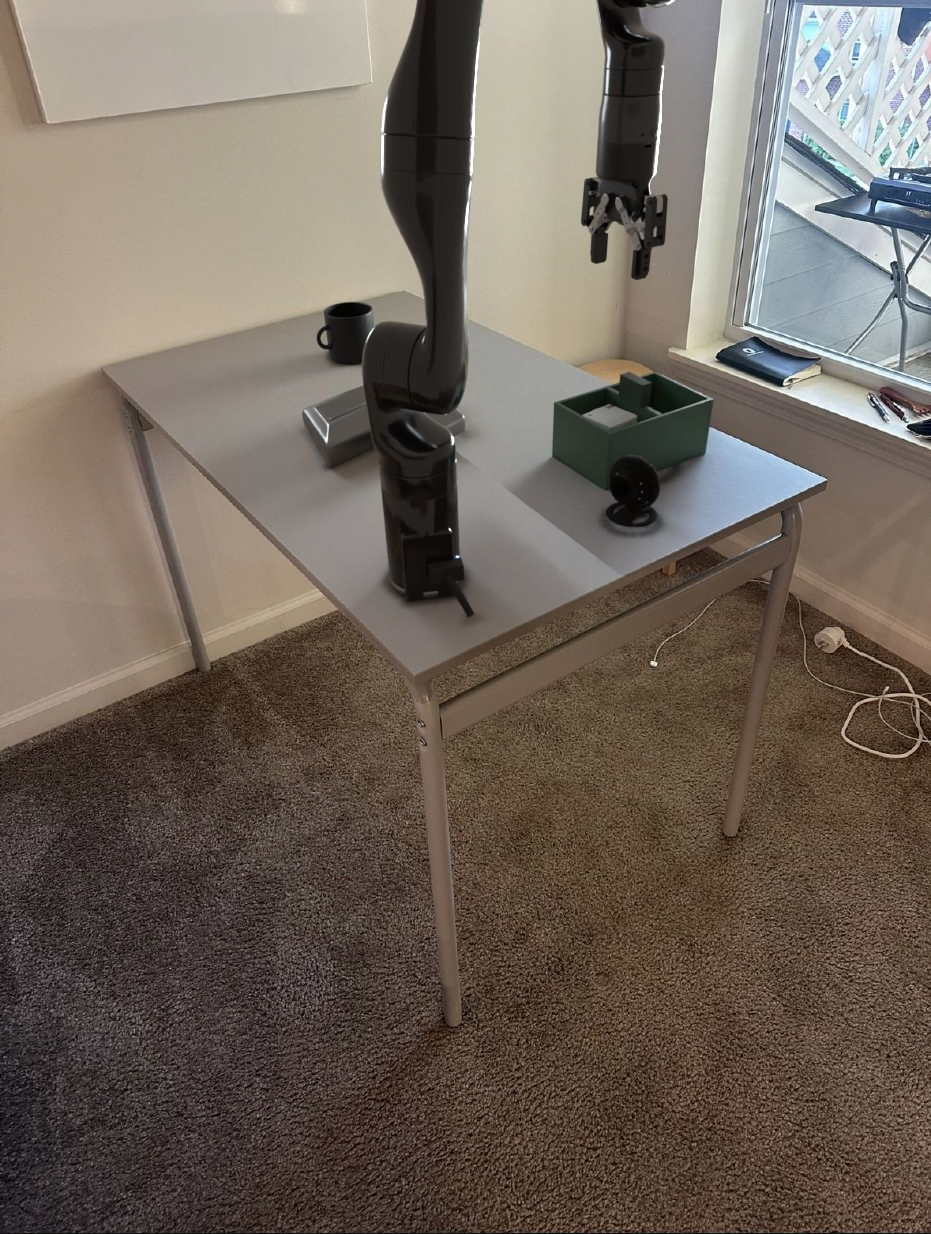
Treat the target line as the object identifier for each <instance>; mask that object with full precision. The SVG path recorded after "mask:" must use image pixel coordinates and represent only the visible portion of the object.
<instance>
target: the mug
mask: <svg viewBox="0 0 931 1234" xmlns="http://www.w3.org/2000/svg"><path fill="white" fill-rule="evenodd" d="M323 316H324V324H325V325H323V326H322V327H321V328H319V329H318V331H317V333H316V343H317V345H318V346H319V347H320V349H322V350H326V351H328V356H329V358H330V359H331V360H332V361H333V362H336V363H340V364H348V365H349V364H350V365H351V364H359V363H362V357H363V350H364V346H365V342H366V339H367V337H368V335H369V333H370V331H371V330H372V328H373V327H374V326H375V321H374V320H375V318H374V308H373V306H372V305H370V304H369V303H365V302H361V301H345V302H339V303H338V302H337V303H334V304H331V305H329V306H327V307H326V308H325V309H324V310H323ZM324 332H325V333H326V334H325V335H326V341H327V344H324V343H323V342H322V335H323V333H324Z"/></svg>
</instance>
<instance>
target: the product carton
mask: <svg viewBox="0 0 931 1234" xmlns="http://www.w3.org/2000/svg"><path fill="white" fill-rule="evenodd" d="M582 416H583V417H585V418H587V419H589V420H590V421H592V422H594V423H596V424H598V425H599V426H601V427H603V428H605V429H606V430H608V431H610V432H611V431H614V430H617V429H620V428H623V427H626V426H629V425H632V424H635V423H637V415H635V414H633V413H630V412H628V411H625V410H623V409H620V408H618V407H615V406H613V405H611V404H608V405H606V406H603V407H601V408H597V409H594V410H592V411H591V412H588V413H586V414H583V415H582Z"/></svg>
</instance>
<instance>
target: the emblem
mask: <svg viewBox="0 0 931 1234" xmlns="http://www.w3.org/2000/svg"><path fill="white" fill-rule="evenodd" d="M301 414H302V422H303V425H304V427H305V429H306V431H307V433H308V434H309V435H310V438H311V439H312V441H313V442H314V444H315V446H316V447H317V449H318V451H319V453H320V454H321V456H322V458H323V460H324V461H325V463H326V464H327V466H328V467H329V468H333V467H336V466H337V465H340V464H341V463H342V464H343V463H345V462H346V461H348V460H350V459H352V458H353V459H354V458H355V457H357V456H359V455H361V454H363V453H366V452H368V451H370V450H372V449H375V448H374V445H373V442H372V438H371V432H370V424H369V418H368V412H367V406H366V400H365V394H364V386H363V385H361V386H359V387H355V388H352V389H349V390H347V391H343V392H342V393H339V394H336V395H333V396H331V397H329V398H326V399H324V400H322V401H319V402H317V403H314V404H312V405H309V406H307V407H305V408H303V409H302V412H301ZM426 414H427V415H428V416H429V417H430V418H432V419H433V420H435V421H436V422H438V423H439V424H441V425H443V426H444V427H446V428H447V429H448V430H449V431H450V432H451V433H452V435H453V436H456V435H458V434H461V433H463V432H465V431H466V418H465V415H464V414H463V413H462V411H461V410H460V409H459V407H457V409H456V410H455V411H454V412H452V413H450V414H448V415H437V414H430V413H426Z"/></svg>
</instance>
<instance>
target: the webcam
mask: <svg viewBox="0 0 931 1234" xmlns="http://www.w3.org/2000/svg"><path fill="white" fill-rule="evenodd" d="M609 491H610V494H611V497H613V499H614V500H615V501H616V502H614V503H612V504H610V505H609V506H608V507H607V508H606V509H605V515H606V517H607V519H608V520H609V521H611V522H612V523H613V524H615V525H618V526H622V527H626V528H643V527H647V526H650V525H652V524H653V523H655V521H656V520H657V518H658V512H657V510H656V509H655V508H654V507H653V506H652V505H654V503H655V502H656V501H657V500H658V498H659V496H660V491H661V482H660V476H659V474H658V471H656V470H655V468H654V466H653V465H652V464H650V463H649V462H648V461H647V460H646V459H644V458H643V457H641V456H637V455H625V456H622V457H620V458H619V459H618V460H617V461H616V462H615V463H614V464H613V466H612V468H611V471H610V489H609ZM621 506H622V507H621ZM619 507H620V508H619ZM617 508H618V510H616V509H617ZM615 510H616V511H615ZM614 511H615V512H614ZM645 513H646V514H649V516H648V518H647V519H646V520H644V521H641V522H634V520H635V519H636V518H638V517H639V516H641V515H643V514H645Z"/></svg>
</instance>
